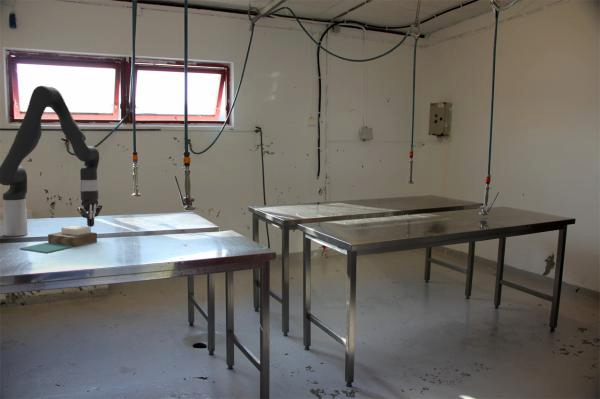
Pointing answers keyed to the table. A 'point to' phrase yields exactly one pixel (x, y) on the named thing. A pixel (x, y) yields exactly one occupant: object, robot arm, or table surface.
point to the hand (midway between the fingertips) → (90, 226)
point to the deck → (72, 239)
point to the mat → (46, 247)
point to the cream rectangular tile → (76, 230)
